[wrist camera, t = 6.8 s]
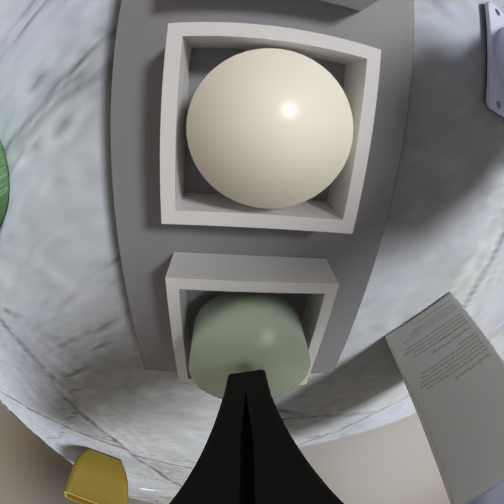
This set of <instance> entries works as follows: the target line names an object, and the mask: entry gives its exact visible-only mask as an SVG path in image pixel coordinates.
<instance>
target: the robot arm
mask: <svg viewBox="0 0 504 504" xmlns="http://www.w3.org/2000/svg"><path fill="white" fill-rule="evenodd" d="M485 14H486V26H487V51H488V63H487V89H486V104H487V106H488V108H489V109H491V110H493V111H494V112H496V113H497V114H499V115H501V116H502V117H504V13H503V12H502V11H501V10H500V9H498V8H497V7H496V6H495V5H494V4H492V3H491V2H486V3H485ZM496 103H497V106H496ZM170 504H344V503H343V502H341V500H339V499H338V497H337V496H336V495H335V494H334V493H333V492H332V491H331V490H330V489H329V488H328V487H327V485H326V484H325V483H324V482H323V481H322V479H321V478H320V477H319V476H318V474H317V473H316V472H315V471H314V469H313V468H312V467H311V466H310V464H309V463H308V461H307V460H306V459H305V457H304V456H303V454H302V453H301V451H300V450H299V448H298V447H297V445H296V444H295V442H294V440H293V439H292V437H291V435H290V434H289V432H288V430H287V428H286V427H285V425H284V423H283V421H282V419H281V417H280V415H279V413H278V410H277V408H276V406H275V404H274V401H273V399H272V396H271V392H270V388H269V384H268V380H267V377H266V373H265V371H264V370H262V369H261V370H255V371H248V372H242V373H234V374H230V375H229V376H228V378H227V383H226V388H225V392H224V396H223V399H222V403H221V406H220V409H219V412H218V415H217V418H216V421H215V424H214V426H213V429H212V431H211V434H210V436H209V438H208V441H207V443H206V445H205V447H204V450H203V452H202V454H201V456H200V458H199V460H198V461H197V463H196V465H195V467H194V469H193V470H192V472H191V474H190V475H189V477H188V479H187V480H186V482H185V483H184V485H183V486H182V488H181V489H180V490H179V492H178V493H177V494H176V496H175V497H174V498H173V500H172V501H171V502H170ZM463 504H504V480H502V481H501V482H499V483H497V484H496V485H494V486H493V487H491V488H489V489H488V490H486V491H483V492H482V493H480V494H478V495H476V496H475V497H473V498H471V499H470V500H468V501H466V502H465V503H463Z"/></svg>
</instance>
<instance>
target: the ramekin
mask: <svg viewBox="0 0 504 504" xmlns="http://www.w3.org/2000/svg"><path fill="white" fill-rule="evenodd" d="M8 197H9V174H8V167H7V161H6V156H5V152H4V149H3V146H2V143H1V141H0V224H1V222H2V220H3V218H4V215H5V212H6V209H7V204H8Z"/></svg>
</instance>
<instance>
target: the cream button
mask: <svg viewBox="0 0 504 504" xmlns="http://www.w3.org/2000/svg"><path fill="white" fill-rule="evenodd" d="M186 135H187V142H188V147H189V150H190V153H191V156H192V158H193V161H194V163H195V165H196V167H197V168H198V170H199V171H200V173H201V174H202V176H203V177H204V178H205V179H206V180H207V182H208V183H209V184H210V185H211V186H213V187H214V188H215V189H216V190H217V191H219V192H220V193H221V194H223V195H224V196H226V197H228V198H230V199H232V200H233V201H236V202H238V203H241V204H244V205H247V206H251V207H256V208H265V209H275V208H284V207H289V206H293V205H297V204H299V203H302V202H305V201H307V200H309V199H311V198H313V197H314V196H316V195H317V194H319V193H320V192H322V191H323V190H324V189H325V188H326V187H328V186H329V185H330V184H331V183H332V182H333V180H334V179H335V178H336V177H337V176H338V174H339V173H340V171H341V170H342V168H343V167H344V165H345V163H346V161H347V158H348V156H349V153H350V150H351V145H352V141H353V117H352V112H351V108H350V105H349V102H348V99H347V97H346V95H345V93H344V91H343V89H342V88H341V86H340V85H339V83H338V82H337V80H336V79H335V78H334V77H333V76H332V75H331V73H330V72H328V71H327V70H326V69H325V68H324V67H323V66H321V65H320V64H318V63H317V62H315V61H314V60H312V59H310V58H308V57H306V56H304V55H302V54H299V53H296V52H293V51H289V50H284V49H276V48H263V49H255V50H250V51H245V52H243V53H240V54H237V55H234V56H233V57H231V58H229V59H227V60H225V61H223V62H222V63H221V64H219V65H218V66H216V67H215V68H214V69H213V70H212V71H211V72H210V73H209V74H208V75H207V76H206V77H205V78H204V79H203V81H202V82H201V83H200V85H199V86H198V88H197V90H196V91H195V93H194V95H193V98H192V100H191V103H190V106H189V110H188V114H187V122H186Z"/></svg>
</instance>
